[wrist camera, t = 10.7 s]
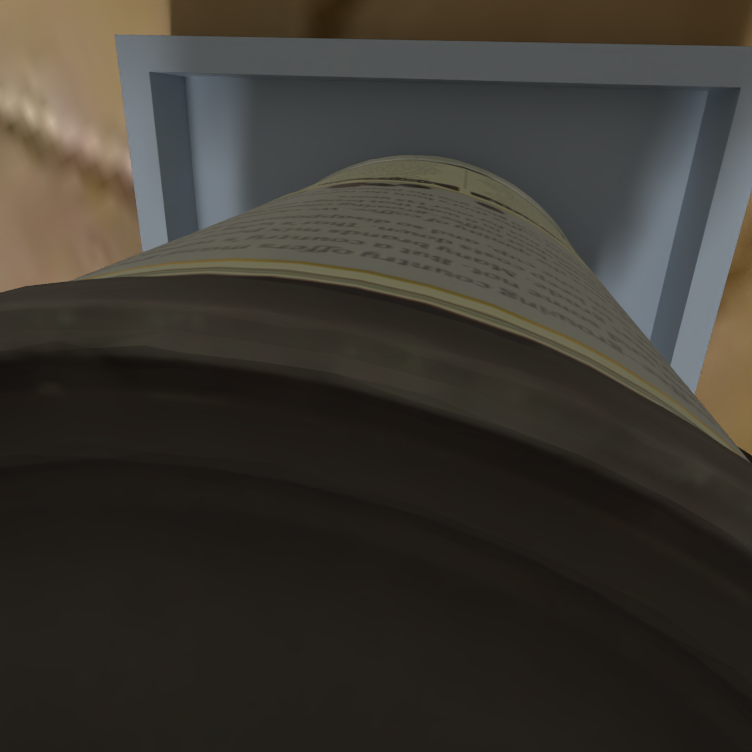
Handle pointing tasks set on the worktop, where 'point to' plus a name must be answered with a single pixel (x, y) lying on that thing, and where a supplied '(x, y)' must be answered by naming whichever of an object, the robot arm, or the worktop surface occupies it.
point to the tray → (468, 144)
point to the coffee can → (364, 493)
